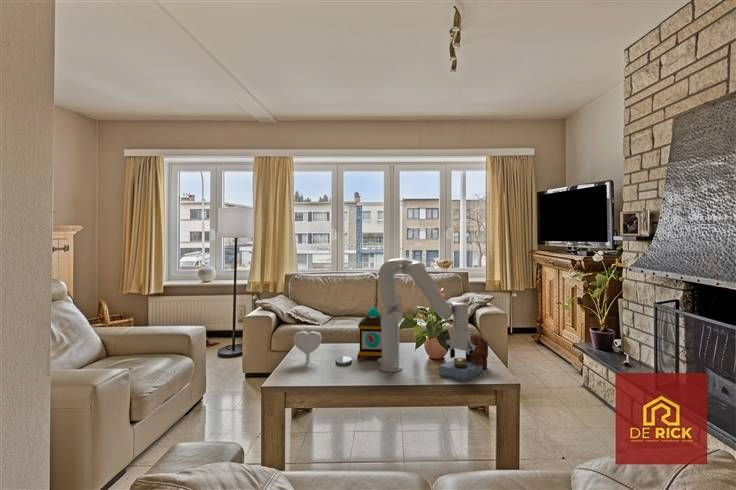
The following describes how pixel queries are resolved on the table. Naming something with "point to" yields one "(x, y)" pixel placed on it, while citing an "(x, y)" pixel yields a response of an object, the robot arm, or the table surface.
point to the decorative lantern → (370, 335)
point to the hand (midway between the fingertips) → (460, 359)
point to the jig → (460, 371)
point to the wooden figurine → (479, 350)
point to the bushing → (460, 362)
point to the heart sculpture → (307, 344)
